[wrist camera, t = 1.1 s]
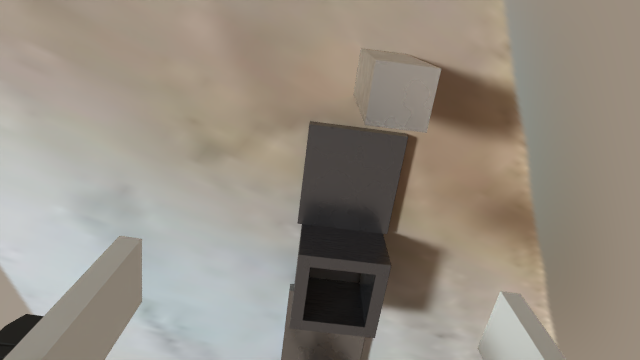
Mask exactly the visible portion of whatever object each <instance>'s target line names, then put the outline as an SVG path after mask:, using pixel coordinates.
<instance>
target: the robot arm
mask: <svg viewBox="0 0 640 360" xmlns="http://www.w3.org/2000/svg"><path fill="white" fill-rule="evenodd" d="M141 302H142V239H139V238H132V237H125V236H119V237H118V238H117V239H116V240H115V241H114V242H113V243H112V245H111V246H110V247H109V248H108V249H107V250H106V251H105V252H104V253H103V254H102V255H101V256H100V257H99V258H98V259H97V260H96V261H95V263H94V264H93V265H92V266H91V267H90V268H89V269H88V270H87V271H86V272H85V273H84V274H83V275H82V276H81V277H80V278H79V280H78V281H77V282H76V283H75V284H74V285H73V286H72V287H71V288H70V289H69V290H68V291H67V292H66V293H65V294H64V295H63V297H62V298H61V299H60V300H59V301H58V302H57V303H56V304H55V305H54V306H53V307H52V308H51V309H50V310H49V311H48V312H47V313H46V315H45V316H37V315H30V314H25V315H24V316H22V317H20V318H18V319H17V320H15V321H13V322H11V323H10V324H8V325H6V326H5V327H4V328H3V329H2V330H1V331H0V360H105V358H106V357H107V355H108V353H109V352H110V350H111V349H112V347H113V346H114V344H115V343H116V341H117V339H118V338H119V336H120V335H121V333H122V332H123V330H124V329H125V327H126V326H127V324H128V322H129V321H130V319H131V318H132V316H133V315H134V313H135V312H136V310H137V308H138V307H139V305H140V304H141ZM478 350H479V352H480V354H481V356H482V358H483V360H567V359H566V358H565V356H564V355H563V353H562V352H561V351H560V349H559V348H558V346H557V345H556V344H555V342H554V341H553V339H552V338H551V336H550V335H549V334H548V332H547V331H546V329H545V328H544V327H543V325H542V324H541V322H540V321H539V319H538V318H537V317H536V315H535V314H534V312H533V311H532V310H531V308H530V307H529V305H528V304H527V302H526V301H525V300H524V298H523V297H522V295H521V294H517V293H510V292H503V291H500V294H499V296H498V299H497V301H496V304H495V306H494V309H493V311H492V314H491V316H490V319H489V321H488V323H487V326H486V328H485V331H484V333H483V336H482V338H481V341H480V343H479V346H478Z"/></svg>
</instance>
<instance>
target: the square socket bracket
mask: <svg viewBox="0 0 640 360" xmlns="http://www.w3.org/2000/svg"><path fill="white" fill-rule="evenodd" d="M407 139H408V136H407V135H406V134H405V133H397V132H390V131H382V130H374V129H366V128H358V127H351V126H343V125H335V124H327V123H320V122H312V121H310V125H309V133H308V141H307V150H306V158H305V166H304V175H303V183H302V191H301V199H300V208H299V216H298V224H302V229H301V237H300V245H299V253H298V261H297V268H296V276H295V284H294V285H293V284H290V291H289V299H288V307H287V316H286V324H285V332H284V341H283V349H282V357H281V360H360V358H361V353H362V349H363V344H364V340H365V337H370V338H375V335H376V330H377V326H378V322H379V317H380V313H381V308H382V304H383V299H384V295H385V291H386V286H387V282H388V277H389V273H390V269H391V263H390V259H389V255H388V252H387V248H386V244H385V240H384V237H383V234H387V233H388V228H389V223H390V219H391V214H392V209H393V205H394V200H395V195H396V191H397V186H398V181H399V177H400V172H401V167H402V163H403V158H404V153H405V149H406V144H407ZM310 267H313V268H321V269H330V270H339V271H347V272H356V273H361V278H360V283H351V282H343V281H334V280H325V279H317V278H309V271H310Z"/></svg>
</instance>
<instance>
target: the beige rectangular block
mask: <svg viewBox="0 0 640 360" xmlns="http://www.w3.org/2000/svg"><path fill="white" fill-rule="evenodd" d="M440 72H441V68H439V67H436V66H434V65H431V64H429V63H427V62H424V61H422V60H420V59H417V58H415V57H412V56H410V55H408V54H402V53H394V52H387V51H380V50H372V49H365V48H361V50H360V56H359V63H358V69H357V75H356V82H355V88H354V94H353V95H354V98H355V100H356V103H357V106H358V108H359V111H360V114H361V116H362V119H363V122H364V124H365V125H370V126H378V127H386V128H394V129H402V130H409V131H417V132H425V133H427V129H428V124H429V120H430V116H431V111H432V107H433V103H434V98H435V94H436V90H437V85H438V81H439V77H440Z"/></svg>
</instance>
